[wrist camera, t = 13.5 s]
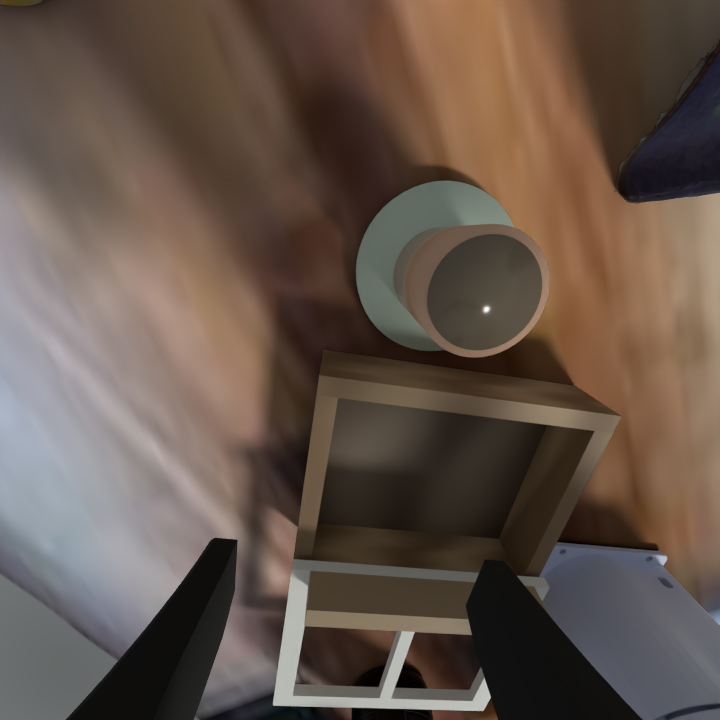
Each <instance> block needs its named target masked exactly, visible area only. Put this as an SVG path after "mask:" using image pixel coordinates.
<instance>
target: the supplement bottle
mask: <svg viewBox="0 0 720 720" xmlns="http://www.w3.org/2000/svg"><path fill="white" fill-rule="evenodd" d="M384 669H385V667H384V668H379V669H376V670H373V671H370V672H368V673H366V674H365V675H363V676H362V677H361V678H360V679H359V680H358V681H357V682H356V684H355V686H359V687H379V684H380V681H381V678H382V675H383V672H384ZM395 688H419V689H427V686H426V683H425V681H424V680H423V678H422V677H421V676H420V675H419V674H418V673H416V672H415V671H413V670H410V669H407V668H403V667H402V669H401V672H400V675H399V677H398V680H397V683H396V686H395ZM352 720H433V715H432V710H425V709H387V708H352Z"/></svg>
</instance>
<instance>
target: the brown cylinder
mask: <svg viewBox="0 0 720 720" xmlns="http://www.w3.org/2000/svg"><path fill="white" fill-rule="evenodd" d="M549 278H550V277H549V269H548V265H547V262H546V259H545V256H544V254H543V252H542V251H541V249H540V247H539V246H538V245H537V243H536V242H535V241H534V240H533V239H532V238H531V237H530V236H528V235H527V234H526V233H524V232H522V231H521V230H519V229H517V228H514V227H511V226H507V225H503V224H481V225H466V226H450V227H436V228H431V229H428V230H425V231H423V232H421V233H419V234H417V235H416V236H415V237H413V238H412V239H411V240H410V241H409V242H408V243H407V244H406V245H405V246H404V248H403V249H402V251H401V252H400V254H399V256H398V258H397V261H396V263H395V268H394V275H393V280H394V288H395V291H396V294H397V296H398V299H399V300H400V302H401V303H402V305H403V306H404V307H405V308H406V309H407V311H408V312H409V313H410V314H411V315H412V316H413V317H414V319H415V320H416V321H417V322H418V323H419V324H420V325H421V327H422V328H423V329H424V330H425V331H426V332H427V334H428V335H429V336H430V337H431V338H432V339H433V340H434V341H435V342H436V343H437V344H438V345H439V346H440V347H442V348H443V349H445V350H446V351H449V352H451V353H453V354H456V355H459V356H464V357H485V356H490V355H494V354H497V353H500V352H502V351H504V350H506V349H508V348H510V347H512V346H513V345H515V344H516V343H517V342H519V341H520V340H521V339H522V338H524V337H525V336H526V335H527V334H528V333H529V331H530V330H531V329H532V328H533V327H534V325H535V324H536V322H537V321H538V319H539V318H540V316H541V314H542V312H543V310H544V307H545V304H546V301H547V297H548V293H549Z"/></svg>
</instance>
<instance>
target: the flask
mask: <svg viewBox="0 0 720 720" xmlns="http://www.w3.org/2000/svg"><path fill="white" fill-rule="evenodd" d="M679 91H680V93H679V94H678V95H677V96H678V97H677V99H676V101H675V102H676V103H675V104H674V105H673V107H671V108H670V109H669V111H668V112H663V113H660V118H659V119H658V122H657V124H656V127H655V128H654V129H653V131H652V132H651V133H650V134H649V135H647V136H646V137H644V138H643V139H642V138H641V139H640V140H641V141H640V143H639V144H638V145H637V146H636V148H635V149H634V150H633V151H632V152H631V153H630V155H629V156H628V157H627V158H626V160H625V161H624V162H622V164H621V165H620V167H619V171H618V176H617V178H618V179H617V181H616V185H617V186H616V188H615V191H614V192H618V193H619V194H620V196H622V197H623V198H624V200H626V202H628V203H635V204H638V203H641V202H648V201H661V200H668V199H674V198H682V197H694V196H701V195H707V194H713V193H720V39H719V41H718V42H717V44H716V45H715V46H714V47H713V50H711V51H710V52H708V53H707V56H705V58H702V59H701V60H700V61H699V63H698V64H697V66H696V67H695V68H694V69H693V70H692V71H690V72H689V75H688V77H687V79H686V80H685V81H684V82H683V83H682V85H681V89H680V90H679Z"/></svg>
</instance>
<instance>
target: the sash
mask: <svg viewBox="0 0 720 720" xmlns="http://www.w3.org/2000/svg"><path fill="white" fill-rule="evenodd" d="M478 574H479V573H474V572H461V571H447V570H434V569H420V568H407V567H393V566H380V565H367V564H353V563H340V562H326V561H313V560H299V559H293V565H292V572H291V579H290V586H289V594H288V601H287V608H286V615H285V622H284V629H283V636H282V644H281V651H280V658H279V665H278V672H277V679H276V686H275V693H274V701H273V706H310V707H349V708H387V709H425V710H464V711H484V709H485V707H486V705H487V703H488V702H489V700H490V698H491V696H490V693H489V690H488V687H487V684H486V681H485V678H484V675H483V672H482V669H481V668H480V670H479V672H478V674H477V676H476V678H475V680H474V682H473V684H472V686H471V688H470V690H449V689H419V688H395V686H396V683H397V680H398V677H399V675H400V672H401V669H402V666H403V663H404V661H405V658H406V655H407V652H408V649H409V647H410V644H411V641H412V638H413V635H414V632H426V633H445V634H464V635H472V633H471V629H470V624H469V619H468V615H467V610H466V603H467V601H468V598H469V596H470V594H471V591H472V589H473V586H474V584H475V582H476V579H477V577H478ZM517 577H518V578H519V579H520V580H521V582H522V583H523V584H524V585H525V586H526V588H527V589H528V590H529V591H530V593H531V594H532V595H533V596H534V597H535V599H536V600H537V601H538V602H539V603H540V605H541V606H542V607H543V608H544V610H545V611H546V612H547V613H548V611H547V610H546V608H545V606H544V604H543V602H542V601H543V599H544V597H545V596H546V594H547V592H548V590H549V588H550V587H549V585H548V584H547V582H546V580H545V579H544V578H542V577H528V576H517ZM548 614H549V613H548ZM549 616H550V615H549ZM305 626H311V627H331V628H350V629H369V630H388V631H397V632H396V635H395V638H394V641H393V645H392V648H391V651H390V654H389V657H388V660H387V663H386V666H385V669H384V672H383V675H382V678H381V681H380V684H379V687H359V686H329V685H298V684H295V679H296V673H297V667H298V662H299V656H300V650H301V644H302V639H303V633H304V627H305Z"/></svg>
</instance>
